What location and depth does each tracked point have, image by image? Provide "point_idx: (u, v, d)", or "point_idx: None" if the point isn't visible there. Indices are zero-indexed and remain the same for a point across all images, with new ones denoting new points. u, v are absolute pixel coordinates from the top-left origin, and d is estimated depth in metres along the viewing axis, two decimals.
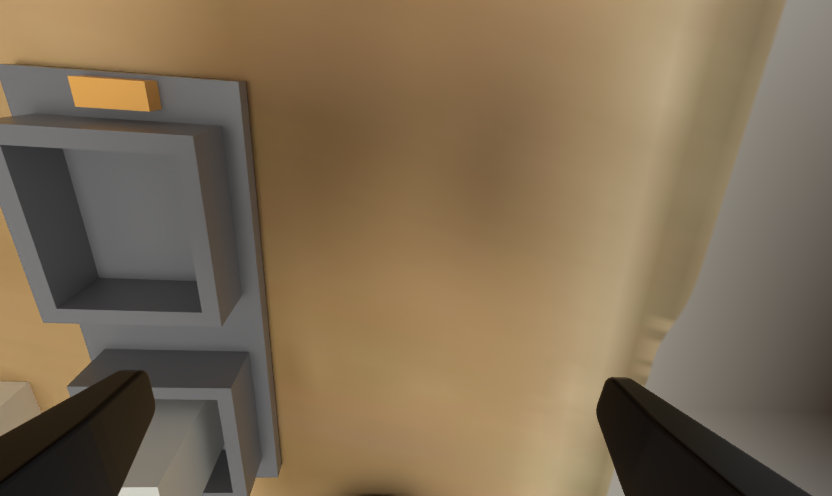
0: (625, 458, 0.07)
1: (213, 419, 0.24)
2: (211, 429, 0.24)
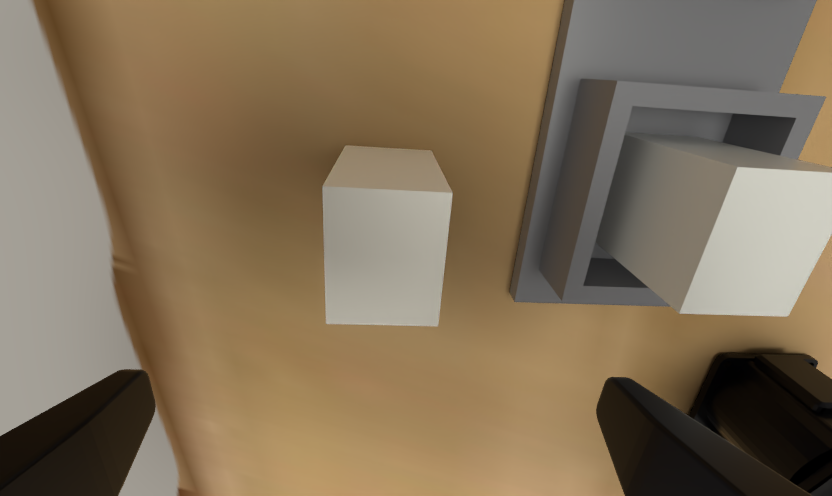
0: (625, 458, 0.07)
1: None
2: None
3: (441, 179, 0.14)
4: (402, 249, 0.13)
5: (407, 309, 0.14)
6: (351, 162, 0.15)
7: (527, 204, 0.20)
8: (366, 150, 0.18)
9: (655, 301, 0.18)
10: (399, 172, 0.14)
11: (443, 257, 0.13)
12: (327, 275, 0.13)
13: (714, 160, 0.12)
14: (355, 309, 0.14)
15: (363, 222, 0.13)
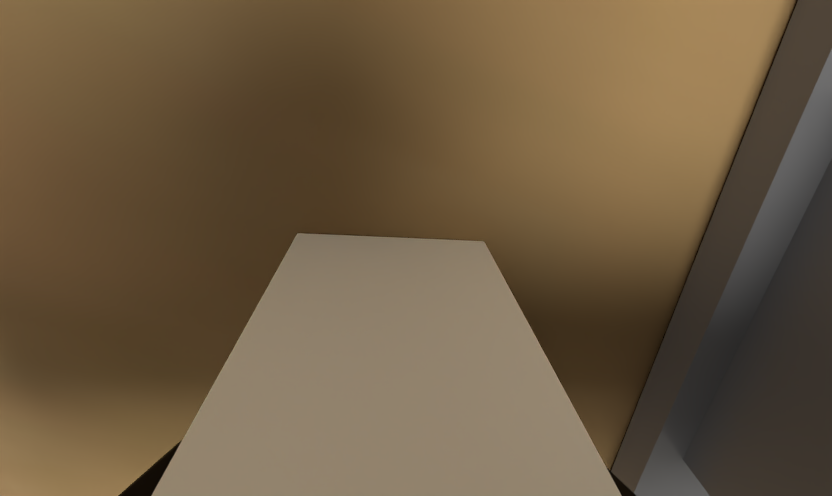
0: None
1: None
2: None
3: (588, 464, 0.04)
4: None
5: None
6: (285, 337, 0.05)
7: (669, 339, 0.10)
8: (341, 254, 0.08)
9: None
10: (431, 407, 0.04)
11: None
12: None
13: None
14: None
15: None
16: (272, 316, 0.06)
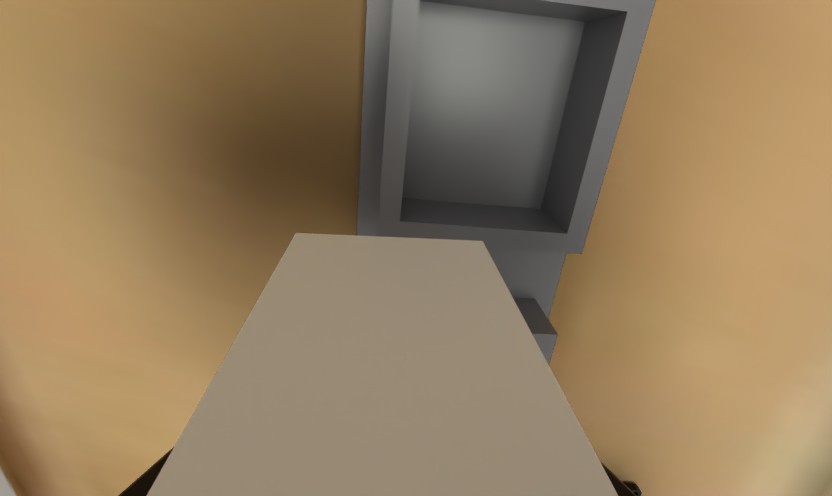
0: None
1: None
2: None
3: (585, 463, 0.04)
4: None
5: None
6: (283, 337, 0.05)
7: None
8: (339, 254, 0.08)
9: None
10: (428, 406, 0.04)
11: None
12: None
13: None
14: None
15: None
16: (270, 315, 0.06)
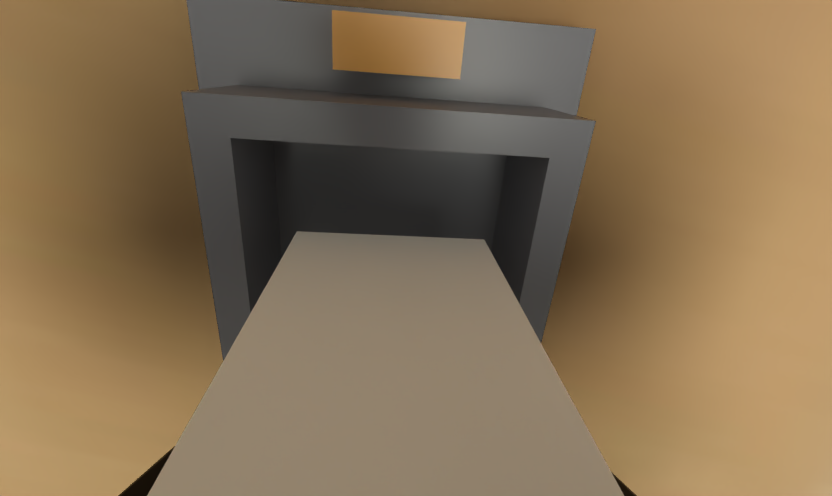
0: None
1: None
2: None
3: (589, 462, 0.04)
4: None
5: None
6: (284, 335, 0.05)
7: None
8: (340, 252, 0.08)
9: None
10: (431, 404, 0.04)
11: None
12: None
13: None
14: None
15: None
16: (271, 314, 0.06)
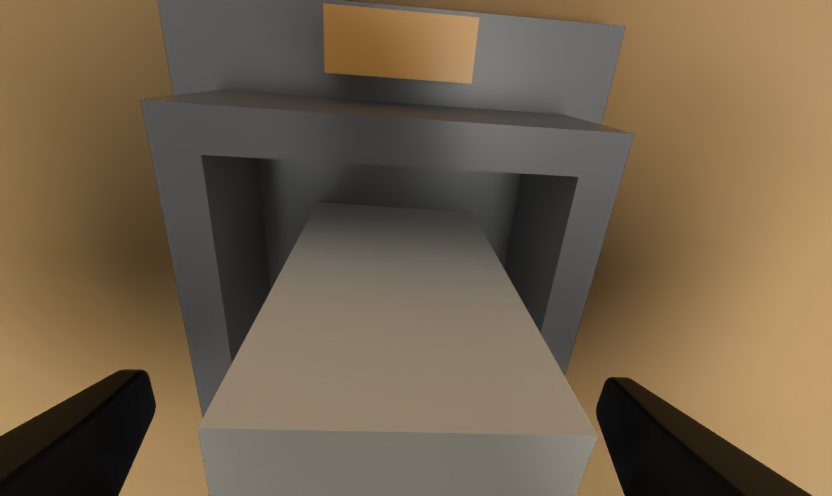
0: (625, 458, 0.07)
1: None
2: None
3: (533, 340, 0.06)
4: None
5: None
6: (318, 266, 0.07)
7: None
8: (355, 217, 0.09)
9: None
10: (427, 308, 0.06)
11: None
12: None
13: None
14: None
15: None
16: (306, 253, 0.07)
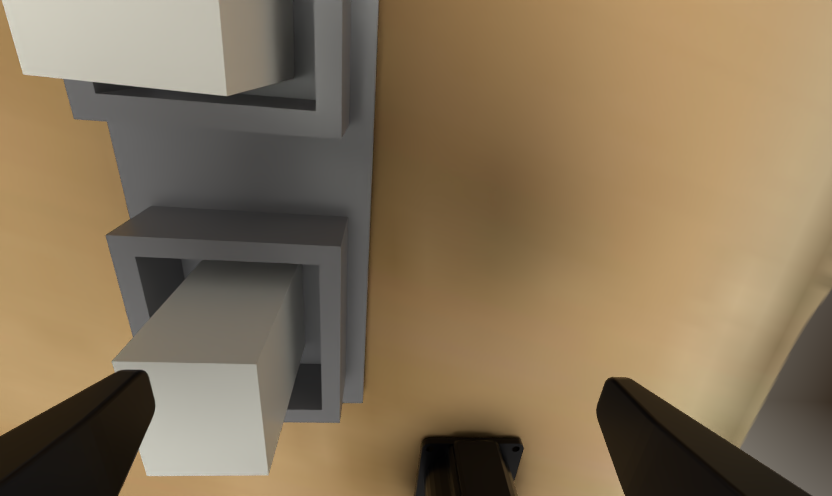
0: (625, 458, 0.07)
1: (297, 310, 0.18)
2: (295, 322, 0.18)
3: None
4: None
5: (165, 54, 0.08)
6: None
7: None
8: None
9: None
10: None
11: None
12: None
13: (132, 340, 0.12)
14: (69, 46, 0.08)
15: None
16: None
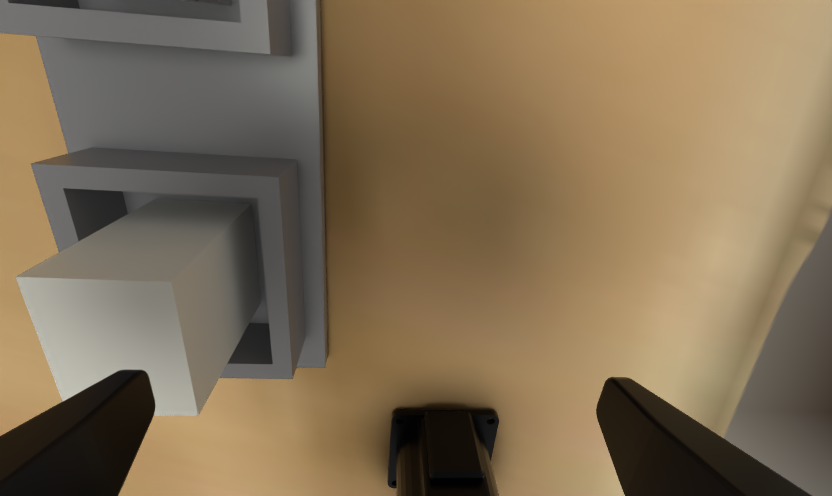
0: (625, 458, 0.07)
1: (245, 258, 0.17)
2: (243, 269, 0.17)
3: None
4: None
5: None
6: None
7: None
8: None
9: None
10: None
11: None
12: None
13: (45, 261, 0.12)
14: None
15: None
16: None
